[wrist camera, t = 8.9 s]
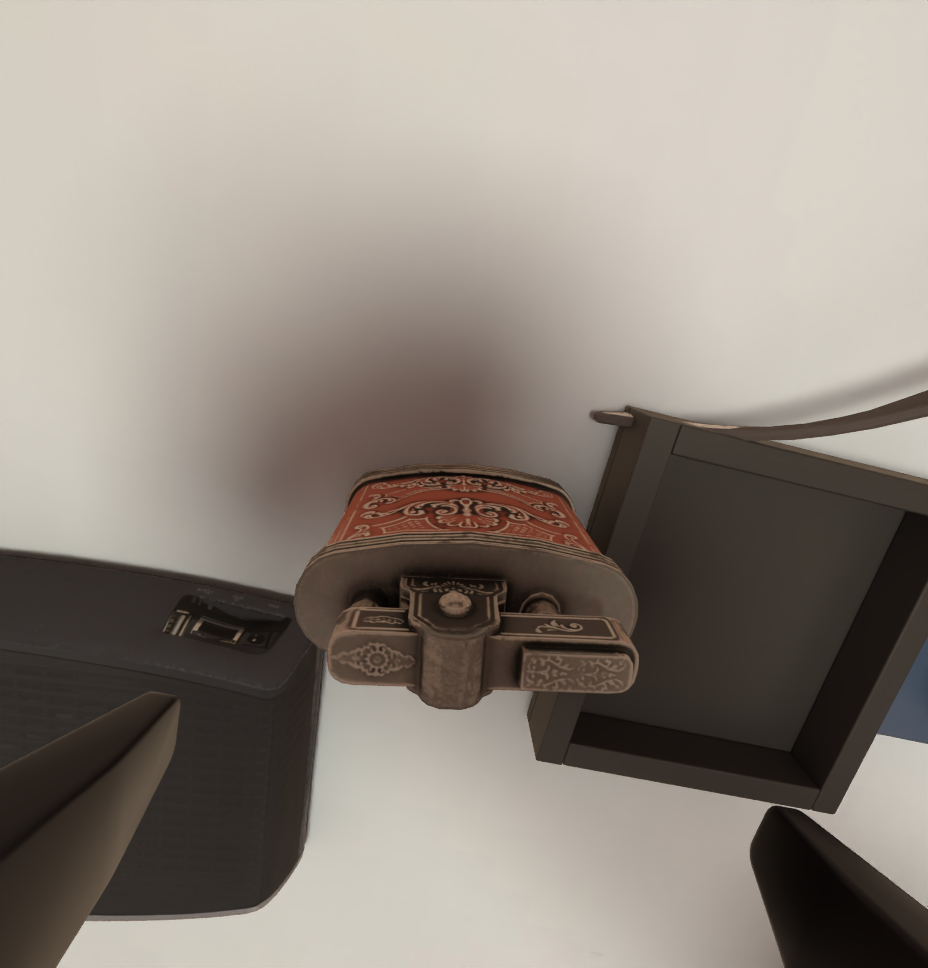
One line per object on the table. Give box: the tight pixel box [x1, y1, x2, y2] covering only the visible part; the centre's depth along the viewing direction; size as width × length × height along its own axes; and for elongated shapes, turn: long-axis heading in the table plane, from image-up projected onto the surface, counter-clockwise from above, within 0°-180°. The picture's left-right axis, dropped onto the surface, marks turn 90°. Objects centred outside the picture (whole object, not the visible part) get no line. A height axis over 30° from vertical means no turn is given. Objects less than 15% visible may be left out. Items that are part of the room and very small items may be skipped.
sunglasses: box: [594, 390, 928, 441], centre depth 16 cm, size 16×17×5 cm
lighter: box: [294, 464, 639, 710], centre depth 15 cm, size 8×3×10 cm, turn 86°
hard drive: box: [0, 555, 324, 921], centre depth 20 cm, size 13×19×4 cm
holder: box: [527, 406, 928, 814], centre depth 20 cm, size 12×13×2 cm
